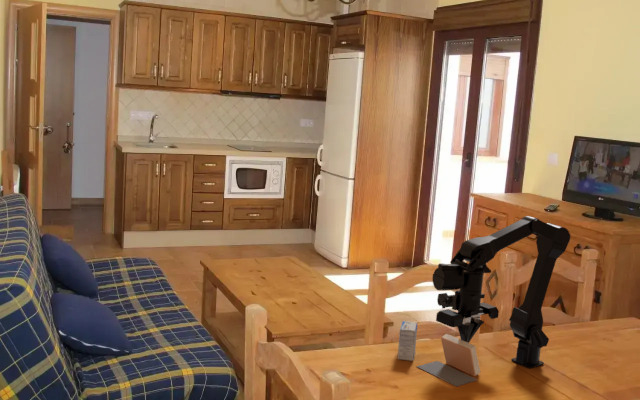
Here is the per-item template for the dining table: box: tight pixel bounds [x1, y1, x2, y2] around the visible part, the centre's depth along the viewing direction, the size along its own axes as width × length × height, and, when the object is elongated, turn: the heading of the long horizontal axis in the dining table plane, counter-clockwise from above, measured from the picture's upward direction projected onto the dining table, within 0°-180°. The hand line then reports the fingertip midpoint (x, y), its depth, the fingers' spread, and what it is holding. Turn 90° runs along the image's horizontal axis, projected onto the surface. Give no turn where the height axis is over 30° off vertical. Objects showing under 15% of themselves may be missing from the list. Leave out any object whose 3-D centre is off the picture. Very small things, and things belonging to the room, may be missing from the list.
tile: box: [440, 333, 481, 377], centre depth 182 cm, size 2×10×8 cm, turn 37°
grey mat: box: [416, 360, 478, 387], centre depth 180 cm, size 8×14×1 cm, turn 37°
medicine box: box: [397, 320, 418, 362], centre depth 190 cm, size 8×4×9 cm, turn 168°
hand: (464, 345), depth 182 cm, fingers closed
